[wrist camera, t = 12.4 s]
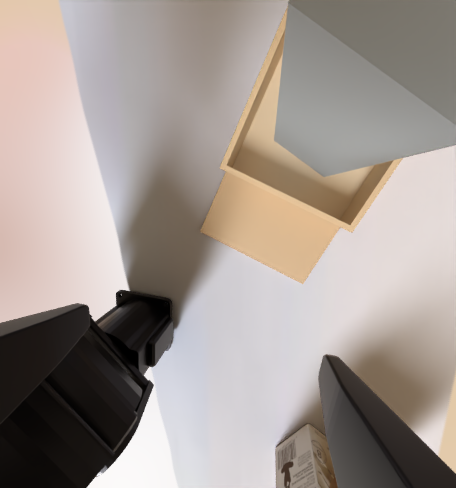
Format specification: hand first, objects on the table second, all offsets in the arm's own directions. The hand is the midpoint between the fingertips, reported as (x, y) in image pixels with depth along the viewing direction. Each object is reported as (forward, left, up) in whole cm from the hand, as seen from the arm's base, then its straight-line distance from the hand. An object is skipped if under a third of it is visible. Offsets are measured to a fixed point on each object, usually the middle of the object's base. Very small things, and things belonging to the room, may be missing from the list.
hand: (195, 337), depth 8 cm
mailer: (+4, +7, -13) cm, 15 cm away
